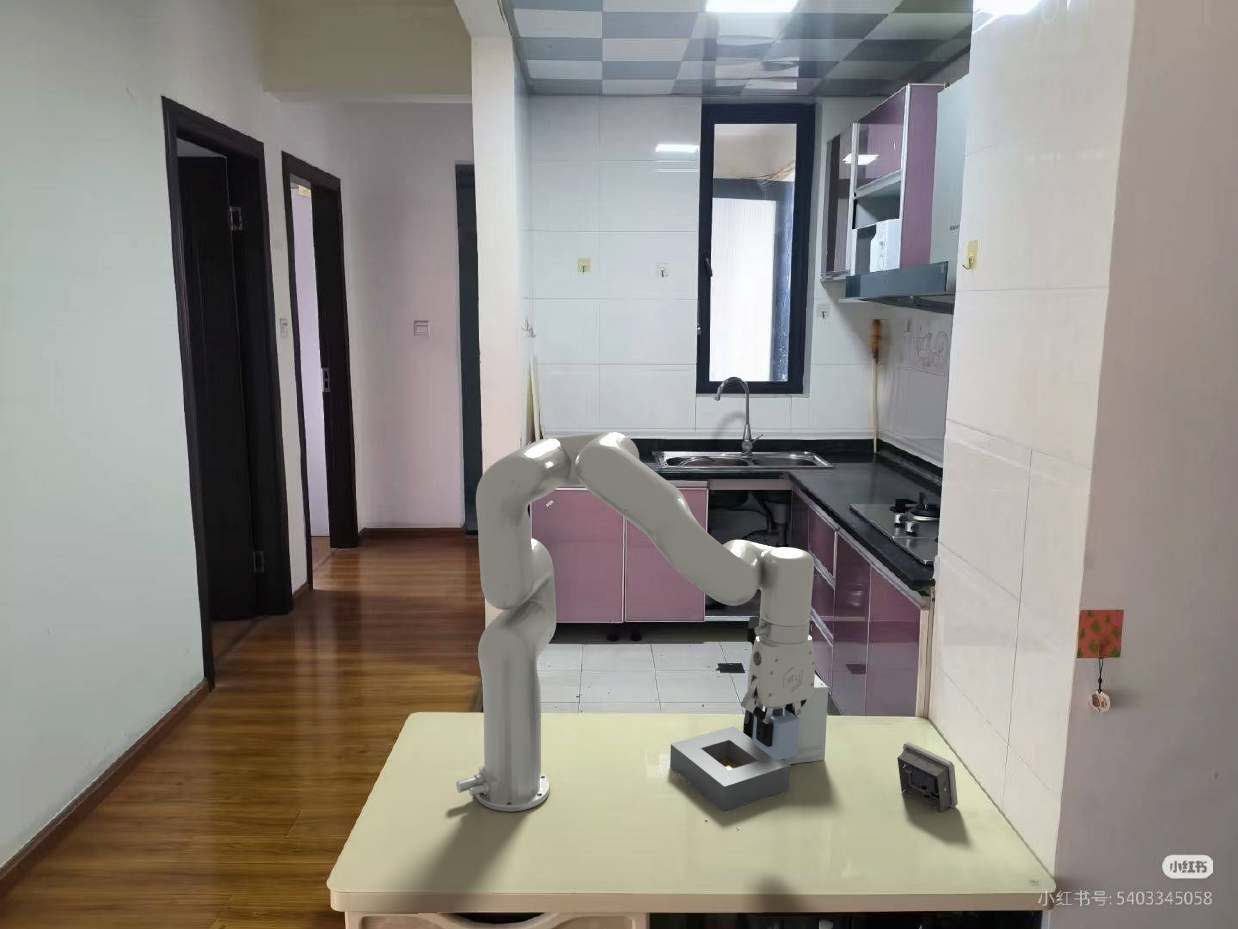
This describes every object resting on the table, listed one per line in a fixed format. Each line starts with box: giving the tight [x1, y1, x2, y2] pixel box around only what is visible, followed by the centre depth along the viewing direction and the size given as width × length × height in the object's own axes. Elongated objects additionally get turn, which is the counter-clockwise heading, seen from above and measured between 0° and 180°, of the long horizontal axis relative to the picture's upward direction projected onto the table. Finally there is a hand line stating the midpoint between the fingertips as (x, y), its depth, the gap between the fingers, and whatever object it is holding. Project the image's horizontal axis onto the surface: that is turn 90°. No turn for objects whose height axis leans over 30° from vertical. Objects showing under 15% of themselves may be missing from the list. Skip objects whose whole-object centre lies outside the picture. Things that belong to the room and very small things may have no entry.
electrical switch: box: [896, 741, 959, 814], centre depth 152 cm, size 9×5×9 cm, turn 38°
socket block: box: [669, 726, 791, 812], centre depth 159 cm, size 14×16×4 cm
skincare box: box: [780, 673, 829, 765], centre depth 165 cm, size 8×6×15 cm
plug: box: [752, 706, 800, 761], centre depth 141 cm, size 4×6×7 cm, turn 31°
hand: (775, 738), depth 141 cm, fingers closed on plug, 4 cm apart
